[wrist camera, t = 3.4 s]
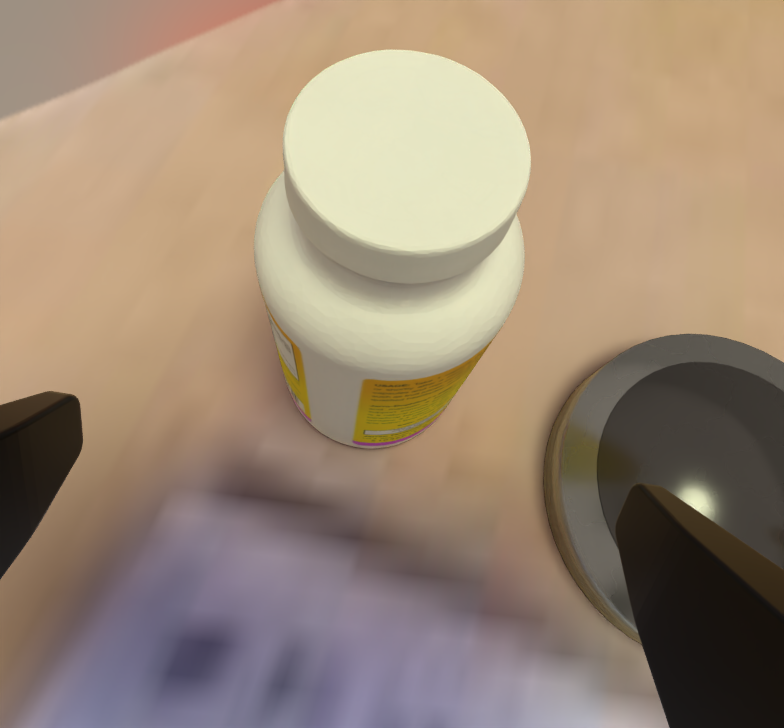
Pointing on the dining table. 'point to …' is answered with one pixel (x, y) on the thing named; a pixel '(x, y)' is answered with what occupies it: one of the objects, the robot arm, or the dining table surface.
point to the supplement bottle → (391, 240)
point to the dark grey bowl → (667, 453)
